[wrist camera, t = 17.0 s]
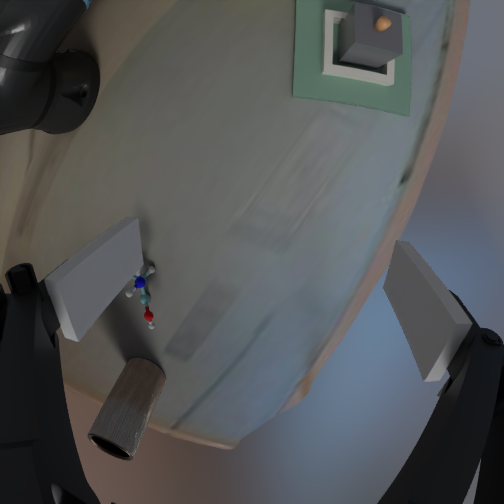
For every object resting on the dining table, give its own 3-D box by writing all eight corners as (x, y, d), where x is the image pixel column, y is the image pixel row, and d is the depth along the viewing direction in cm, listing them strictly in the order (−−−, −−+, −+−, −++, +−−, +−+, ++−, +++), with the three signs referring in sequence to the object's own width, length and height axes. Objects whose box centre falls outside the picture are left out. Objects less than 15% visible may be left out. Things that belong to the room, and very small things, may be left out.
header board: (292, 97, 33) (293, 94, 30) (296, -3, 26) (297, -15, 23) (405, 116, 32) (416, 116, 28) (405, 18, 25) (416, 11, 22)
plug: (337, 62, 29) (359, 37, 18) (338, 29, 27) (358, -6, 16) (374, 69, 29) (410, 50, 18) (374, 37, 26) (408, 8, 16)
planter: (145, 386, 63) (112, 458, 43) (120, 359, 60) (78, 432, 39) (174, 382, 60) (142, 463, 40) (148, 353, 57) (105, 436, 37)
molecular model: (96, 287, 46) (92, 307, 38) (120, 243, 47) (120, 253, 38) (148, 315, 52) (155, 339, 43) (173, 274, 52) (184, 290, 44)
